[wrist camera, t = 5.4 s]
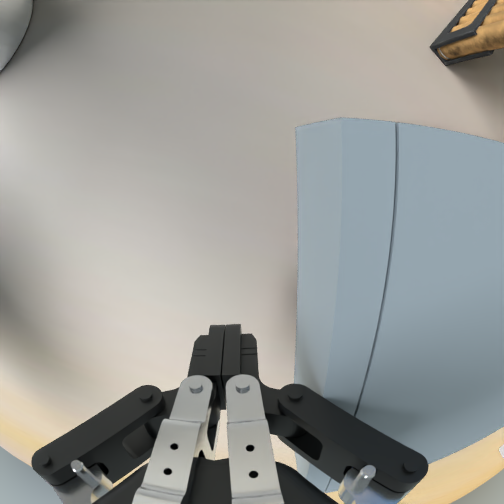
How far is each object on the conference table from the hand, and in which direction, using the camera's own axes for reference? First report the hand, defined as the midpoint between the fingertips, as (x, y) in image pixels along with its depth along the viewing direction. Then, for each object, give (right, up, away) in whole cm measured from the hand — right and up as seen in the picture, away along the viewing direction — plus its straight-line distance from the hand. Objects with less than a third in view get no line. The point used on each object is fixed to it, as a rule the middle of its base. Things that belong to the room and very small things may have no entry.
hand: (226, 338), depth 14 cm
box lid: (+13, +1, +1) cm, 13 cm away
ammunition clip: (+18, +22, -1) cm, 28 cm away
